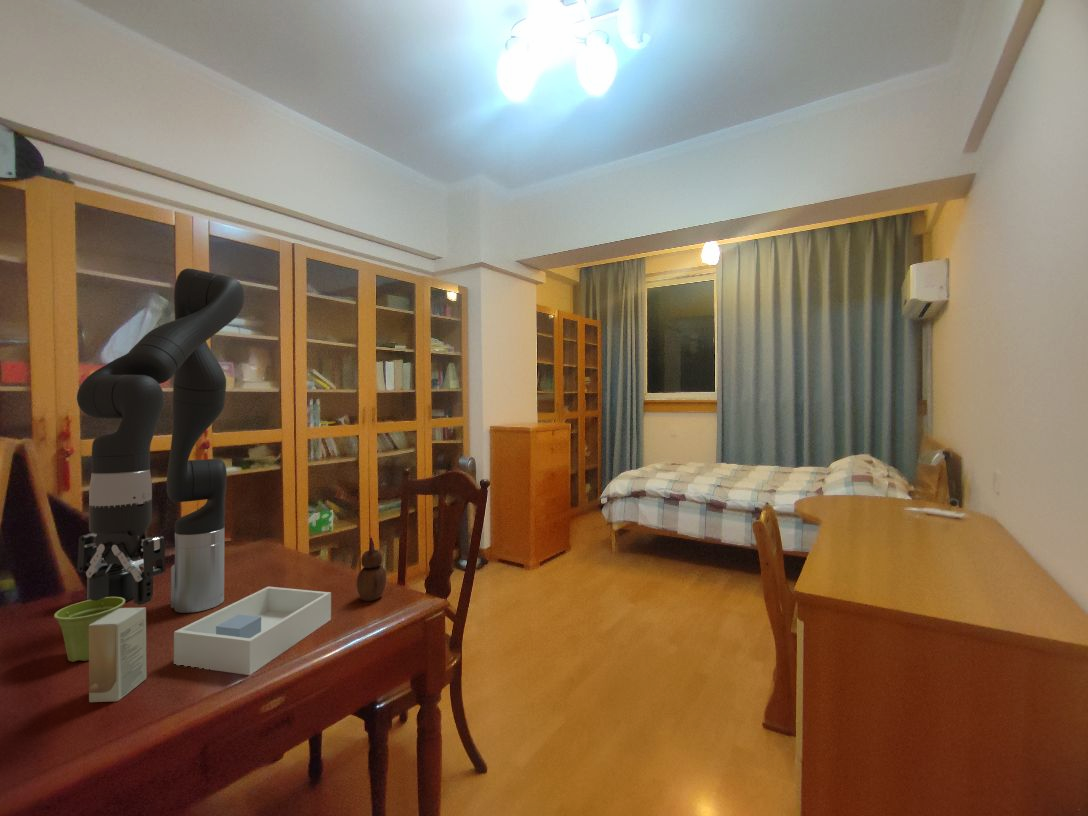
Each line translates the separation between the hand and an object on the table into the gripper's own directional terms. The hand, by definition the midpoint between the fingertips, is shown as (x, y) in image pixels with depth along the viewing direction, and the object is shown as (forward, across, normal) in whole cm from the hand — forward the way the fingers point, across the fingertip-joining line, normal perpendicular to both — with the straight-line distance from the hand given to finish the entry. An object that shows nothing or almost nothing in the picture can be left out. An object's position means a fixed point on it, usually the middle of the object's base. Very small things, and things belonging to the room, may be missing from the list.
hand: (121, 600), depth 76 cm
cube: (+14, +9, +14) cm, 21 cm away
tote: (+14, +9, +19) cm, 25 cm away
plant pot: (+14, -17, +8) cm, 24 cm away
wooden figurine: (+15, +19, +42) cm, 48 cm away
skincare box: (+15, 0, 0) cm, 15 cm away
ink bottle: (+14, -39, +28) cm, 50 cm away
